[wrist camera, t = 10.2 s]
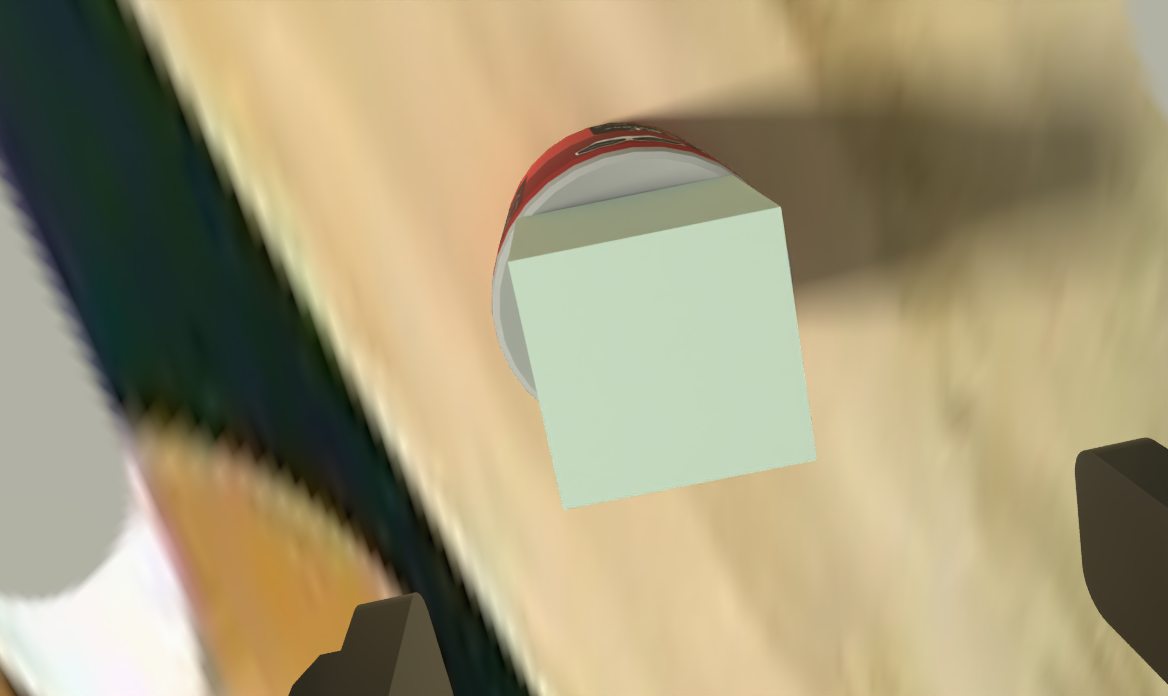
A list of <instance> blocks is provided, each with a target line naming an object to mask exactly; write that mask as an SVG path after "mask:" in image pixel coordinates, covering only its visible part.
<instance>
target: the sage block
mask: <svg viewBox="0 0 1168 696" xmlns="http://www.w3.org/2000/svg"><path fill="white" fill-rule="evenodd" d="M508 265H509V270H510V274H511V279H512V283H513V288H514V292H515V297H516V301H517V306H518V310H519V315H520V319H521V323H522V328H523V332H524V337H525V341H526V346H527V350H528V355H529V359H530V364H531V368H532V372H533V377H534V381H535V386H536V390H537V395H538V399H539V404H540V408H541V413H542V417H543V422H544V426H545V430H546V435H547V439H548V444H549V448H550V453H551V457H552V462H553V466H554V471H555V475H556V480H557V484H558V488H559V493H560V497H561V502H562V506H563V510H565V509H570V508H576V507H581V506H586V505H591V504H596V503H601V502H606V501H611V500H616V499H621V498H627V497H632V496H637V495H642V494H647V493H652V492H657V491H662V490H667V489H672V488H678V487H683V486H688V485H693V484H698V483H703V482H708V481H713V480H718V479H723V478H729V477H734V476H739V475H744V474H749V473H754V472H759V471H764V470H769V469H774V468H780V467H785V466H790V465H795V464H800V463H805V462H810V461H815V460H817V457H816V450H815V443H814V436H813V429H812V422H811V415H810V408H809V401H808V394H807V387H806V380H805V373H804V366H803V359H802V352H801V345H800V337H799V330H798V323H797V316H796V309H795V302H794V295H793V288H792V281H791V274H790V267H789V260H788V253H787V246H786V239H785V232H784V225H783V218H782V210H781V206H779V205H778V204H776V203H774V202H773V201H771V200H770V199H768V198H767V197H765V196H764V195H762V194H761V193H759V192H758V191H756V190H755V189H753V188H752V187H750V186H748V185H747V184H745V183H744V182H742V181H741V180H739V179H738V178H736V177H735V176H733V175H728V176H723V177H718V178H713V179H708V180H703V181H698V182H694V183H689V184H684V185H679V186H674V187H669V188H664V189H659V190H654V191H649V192H644V193H639V194H635V195H630V196H625V197H620V198H615V199H610V200H605V201H600V202H595V203H590V204H585V205H580V206H576V207H571V208H566V209H561V210H556V211H551V212H546V213H541V214H536V215H532V216H526V217H521V218H516V223H515V228H514V233H513V238H512V243H511V248H510V253H509V258H508Z"/></svg>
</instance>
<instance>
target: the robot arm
mask: <svg viewBox="0 0 1168 696" xmlns="http://www.w3.org/2000/svg"><path fill="white" fill-rule="evenodd" d="M1075 480H1076V492H1077V504H1078V517H1079V529H1080V542H1081V554H1082V566H1083V573H1084V577H1085V581H1086V585H1087V587H1088V590H1089V593H1090V595H1091V598H1092V600H1093V602H1094V604H1095V606H1096V608H1097V609H1098V611H1099V613H1100V614H1101V615H1102V617H1103V618H1104V619H1105V620H1106V622H1107V623H1108V624H1109V625H1110V626H1111V627H1112V628H1113V629H1114V630H1115V631H1116V632H1117V633H1118V634H1119V635H1120V636H1121V637H1122V638H1123V639H1124V640H1125V641H1126V642H1127V643H1128V644H1129V645H1130V646H1131V647H1132V648H1133V649H1134V650H1135V651H1136V652H1137V653H1138V654H1139V655H1140V656H1141V657H1142V658H1143V659H1144V660H1145V662H1146V663H1147V664H1148V665H1149V666H1150V667H1151V668H1152V669H1153V670H1154V671H1155V672H1156V673H1157V674H1158V675H1159V676H1160V677H1161V678H1162V679H1163V680H1164V681H1165V682H1166V683H1167V684H1168V449H1167V448H1165V447H1164V446H1162V445H1161V444H1159V443H1158V442H1156V441H1154V440H1152V439H1150V438H1140V439H1136V440H1131V441H1126V442H1122V443H1117V444H1112V445H1108V446H1103V447H1098V448H1094V449H1089V450H1084V451H1082V452H1080V454H1079V455H1078V457H1077V459H1076V463H1075ZM289 696H453V692H452V689H451V686H450V683H449V679H448V676H447V673H446V669H445V666H444V663H443V659H442V656H441V653H440V650H439V646H438V643H437V640H436V636H435V633H434V630H433V626H432V623H431V620H430V617H429V613H428V610H427V607H426V605H425V602H424V600H423V598H422V597H421V595H420V594H419V593H412V594H407V595H403V596H398V597H393V598H389V599H384V600H379V601H375V602H370V603H365V604H361V605H358V606H357V607H356V609H355V611H354V614H353V617H352V619H351V622H350V625H349V628H348V631H347V634H346V637H345V640H344V643H343V646H342V649H341V651H337V652H332V653H327V654H323V655H320V656H319V657H318V658H317V659H316V660H315V661H314V662H313V663H312V665H311V666H310V667H309V668H308V669H307V670H306V671H305V672H304V673H303V674H302V676H301V677H300V678H299V679H298V680H297V681H296V682H295V683H294V684H293V686H292V688H291V691H290V693H289Z"/></svg>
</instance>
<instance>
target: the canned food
mask: <svg viewBox="0 0 1168 696" xmlns="http://www.w3.org/2000/svg"><path fill="white" fill-rule="evenodd" d="M728 175H733V176H735V177H736V178H738V179H739V180H741V181H742V182H744V183H745V184H747V182H746V181H745V180H744V179H742V178H741V177H739V176H738V175H737V174H736V173H734V172H733V171H732V170H730V169H729V168H727V167H726V166H724V165H723V164H721V163H720V162H718V161H717V160H715V159H714V158H712V157H710V156H709V155H707V154H705V153H704V152H702V151H700V150H699V149H697V148H695V147H694V146H692V145H690V144H689V143H687V142H685V141H683V140H682V139H680V138H678V137H677V136H675V135H673V134H671V133H668V132H666V131H663V130H661V129H658V128H656V127H652V126H647V125H641V124H636V123H608V124H604V125H599V126H594V127H590V128H586V129H584V130H582V131H579V132H577V133H575V134H572V135H570V136H568V137H566V138H564V139H563V140H561V141H560V142H558V143H557V144H555V145H554V146H552V147H551V148H549V149H548V150H547V151H546V152H545V153H544V154H543V155H542V156H541V157H540V158H539V159H538V160H537V161H536V162H535V163H534V164H533V165H532V166H531V168H530V169H529V171H528V172H527V173H526V175H525V176H524V178H523V179H522V181H521V182H520V184H519V186H518V189H517V191H516V193H515V196H514V198H513V200H512V203H511V206H510V209H509V213H508V216H507V220H506V224H505V227H504V231H503V234H502V238H501V241H500V245H499V249H498V254H497V259H496V263H495V268H494V273H493V280H492V315H493V319H494V324H495V329H496V334H497V338H498V342H499V345H500V347H501V349H502V352H503V354H504V356H505V358H506V361H507V363H508V365H509V367H510V369H511V370H512V372H513V373H514V375H515V376H516V377H517V379H518V380H519V381H520V383H521V384H522V386H523V387H524V388H525V390H526V391H527V392H528V393H530V394H531V395H532V396H533V397H534V398H535V399H536V400H537V401H538V402H539V399H538V395H537V390H536V386H535V381H534V377H533V372H532V368H531V364H530V359H529V355H528V350H527V346H526V341H525V337H524V332H523V328H522V323H521V319H520V315H519V310H518V306H517V301H516V297H515V292H514V288H513V283H512V279H511V274H510V270H509V265H508V258H509V253H510V248H511V243H512V238H513V233H514V228H515V223H516V218H521V217H526V216H532V215H536V214H541V213H546V212H551V211H556V210H561V209H566V208H571V207H576V206H580V205H585V204H590V203H595V202H600V201H605V200H610V199H615V198H620V197H625V196H630V195H635V194H639V193H644V192H649V191H654V190H659V189H664V188H669V187H674V186H679V185H684V184H689V183H694V182H698V181H703V180H708V179H713V178H718V177H723V176H728ZM747 185H748V184H747ZM748 186H749V185H748ZM787 253H788V260H789V267H790V274H791V281H792V272H791V264H790V256H789V252H788V249H787ZM792 285H793V281H792Z"/></svg>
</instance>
